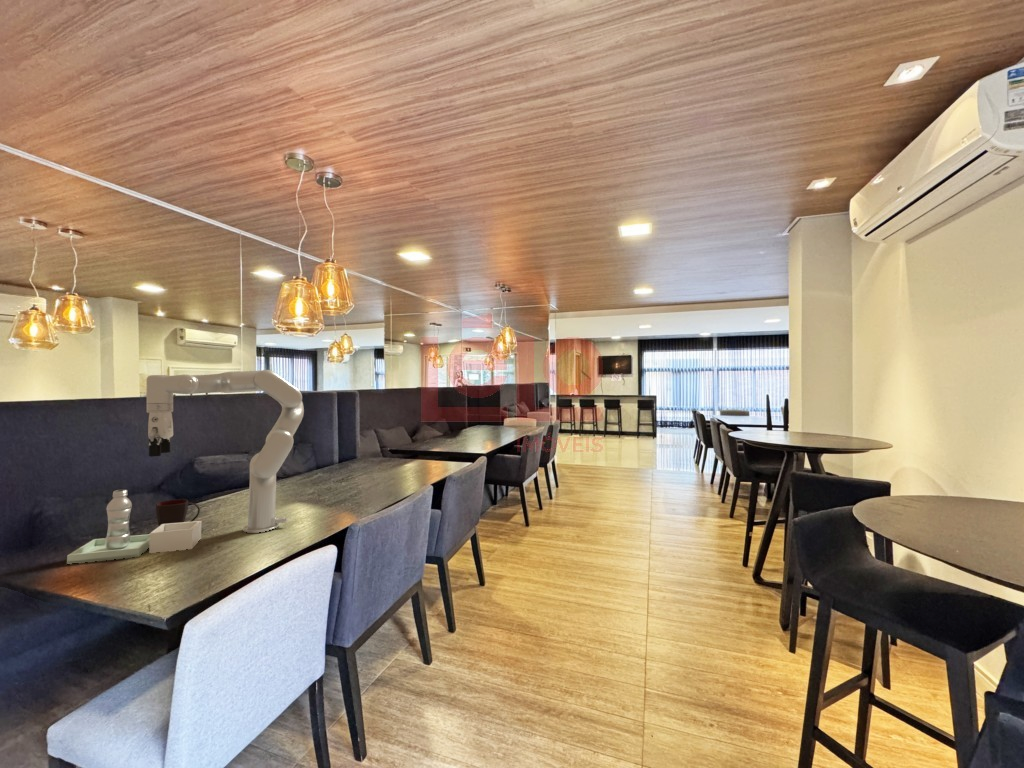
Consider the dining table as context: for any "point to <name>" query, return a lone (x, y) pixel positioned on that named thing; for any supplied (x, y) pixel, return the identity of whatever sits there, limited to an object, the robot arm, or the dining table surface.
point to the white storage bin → (175, 536)
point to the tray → (109, 550)
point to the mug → (173, 511)
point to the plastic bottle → (118, 520)
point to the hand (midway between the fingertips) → (160, 454)
